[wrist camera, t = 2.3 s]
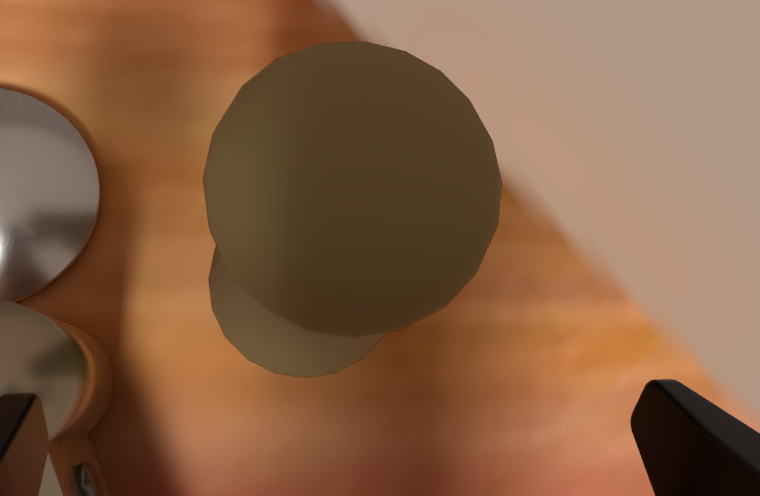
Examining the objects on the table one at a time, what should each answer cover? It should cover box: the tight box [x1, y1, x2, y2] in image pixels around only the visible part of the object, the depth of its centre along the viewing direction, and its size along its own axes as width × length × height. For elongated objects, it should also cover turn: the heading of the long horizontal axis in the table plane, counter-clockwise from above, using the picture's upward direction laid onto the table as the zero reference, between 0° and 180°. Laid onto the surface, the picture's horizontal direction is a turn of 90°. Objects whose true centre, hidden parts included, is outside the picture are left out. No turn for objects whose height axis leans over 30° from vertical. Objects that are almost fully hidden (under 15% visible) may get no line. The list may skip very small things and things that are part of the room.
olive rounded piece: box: [203, 42, 502, 378], centre depth 15 cm, size 6×6×11 cm
